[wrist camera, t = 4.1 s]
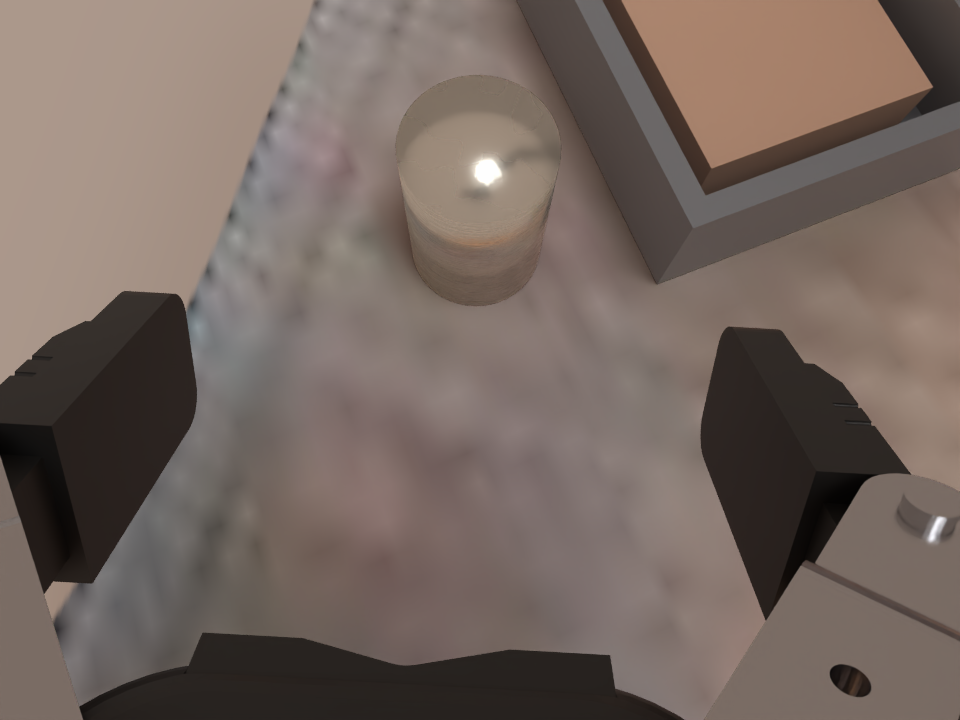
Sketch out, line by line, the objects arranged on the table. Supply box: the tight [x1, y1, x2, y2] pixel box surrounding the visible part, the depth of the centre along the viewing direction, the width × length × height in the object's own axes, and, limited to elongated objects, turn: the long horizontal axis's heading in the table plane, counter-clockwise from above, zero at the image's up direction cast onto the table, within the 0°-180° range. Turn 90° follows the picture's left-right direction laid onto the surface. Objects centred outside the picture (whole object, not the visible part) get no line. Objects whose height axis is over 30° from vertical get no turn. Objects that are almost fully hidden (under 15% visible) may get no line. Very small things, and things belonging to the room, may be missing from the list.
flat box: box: [602, 0, 933, 195], centre depth 34 cm, size 10×14×3 cm
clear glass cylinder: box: [396, 75, 561, 306], centre depth 30 cm, size 6×6×8 cm
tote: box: [517, 0, 960, 284], centre depth 34 cm, size 15×19×6 cm
